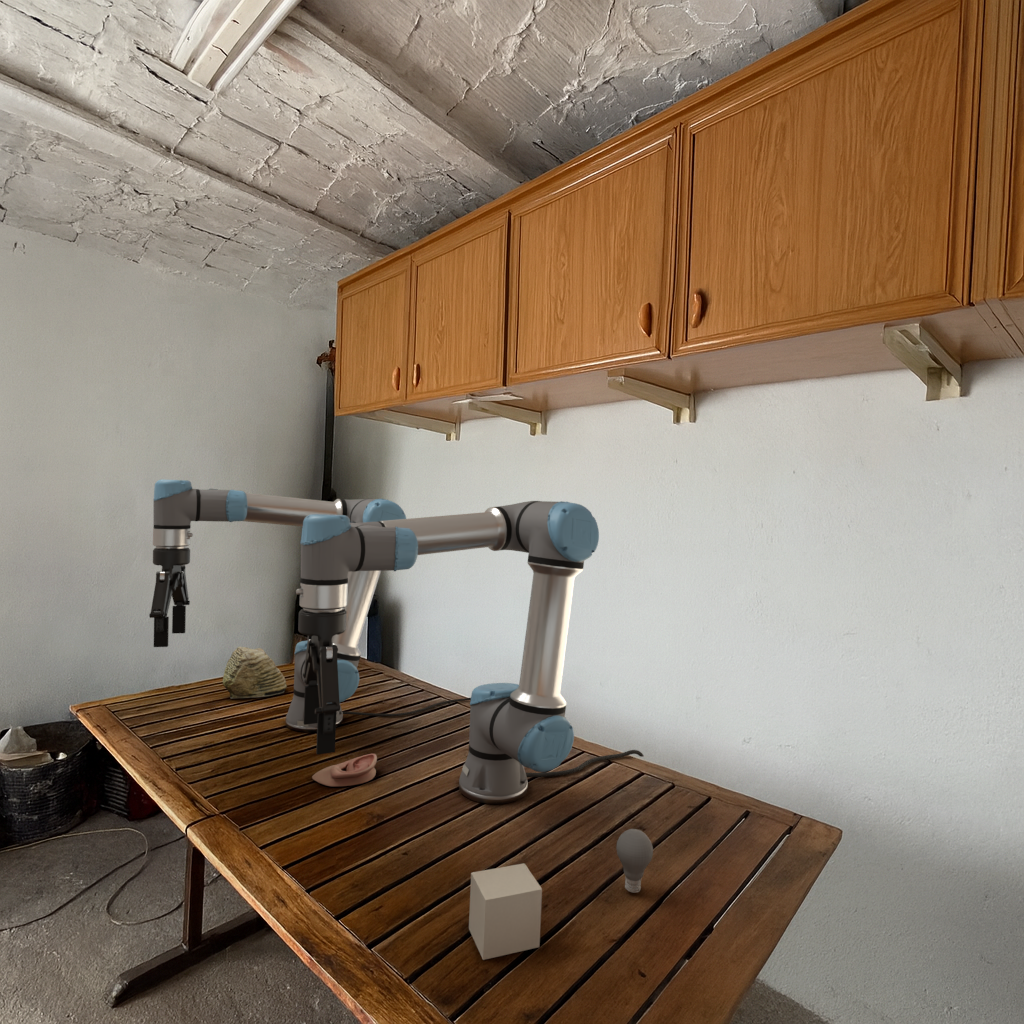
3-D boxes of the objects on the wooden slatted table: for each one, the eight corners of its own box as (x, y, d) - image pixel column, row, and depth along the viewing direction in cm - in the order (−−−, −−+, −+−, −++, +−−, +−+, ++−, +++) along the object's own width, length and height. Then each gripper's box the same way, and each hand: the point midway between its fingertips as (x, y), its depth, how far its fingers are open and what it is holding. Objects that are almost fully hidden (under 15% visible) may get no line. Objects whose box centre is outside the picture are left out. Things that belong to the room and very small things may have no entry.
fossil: (218, 695, 195) (220, 647, 195) (278, 685, 208) (279, 640, 207) (228, 703, 189) (230, 653, 188) (289, 692, 201) (290, 645, 201)
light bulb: (610, 879, 108) (613, 822, 108) (644, 879, 109) (647, 822, 109) (619, 902, 102) (622, 840, 102) (655, 901, 103) (658, 840, 103)
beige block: (482, 960, 88) (485, 900, 88) (468, 928, 95) (471, 872, 95) (539, 947, 92) (542, 889, 91) (522, 917, 98) (524, 863, 98)
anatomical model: (305, 765, 139) (330, 745, 150) (304, 783, 139) (330, 762, 151) (361, 773, 137) (383, 752, 148) (360, 791, 137) (382, 769, 148)
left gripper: (173, 552, 133) (172, 652, 134) (203, 543, 158) (201, 627, 158) (134, 552, 132) (132, 653, 132) (170, 542, 156) (168, 628, 156)
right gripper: (289, 597, 113) (285, 714, 114) (311, 624, 91) (305, 770, 91) (332, 596, 117) (328, 710, 117) (363, 622, 94) (358, 763, 95)
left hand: (170, 639), depth 145 cm, fingers open, 13 cm apart
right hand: (318, 737), depth 104 cm, fingers open, 13 cm apart
